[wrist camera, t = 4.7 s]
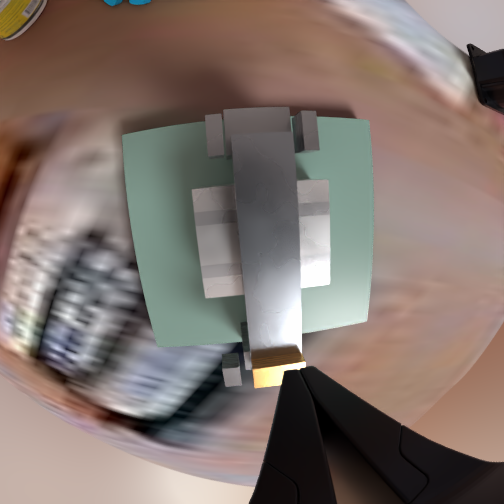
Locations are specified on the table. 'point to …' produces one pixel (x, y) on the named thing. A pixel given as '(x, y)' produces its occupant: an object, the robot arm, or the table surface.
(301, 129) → the post
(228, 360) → the post
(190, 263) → the board
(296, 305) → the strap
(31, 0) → the supplement bottle
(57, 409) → the table surface
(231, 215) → the heatsink
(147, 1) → the gear
